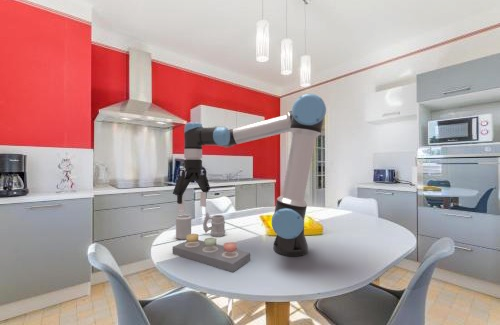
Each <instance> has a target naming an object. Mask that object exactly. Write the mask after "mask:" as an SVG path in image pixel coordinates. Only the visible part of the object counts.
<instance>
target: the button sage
mask: <svg viewBox="0 0 500 325" xmlns="http://www.w3.org/2000/svg"><path fill="white" fill-rule="evenodd" d="M203 241H204V246H206V247H213V246H216V245H218V244H217V237H207V238H204V240H203Z"/></svg>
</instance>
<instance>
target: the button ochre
mask: <svg viewBox="0 0 500 325" xmlns="http://www.w3.org/2000/svg"><path fill="white" fill-rule="evenodd" d="M198 240H199V234H197V233H191V234H189V235H187V239H186V241H187V242H196V241H198Z"/></svg>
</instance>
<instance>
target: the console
mask: <svg viewBox="0 0 500 325" xmlns="http://www.w3.org/2000/svg"><path fill="white" fill-rule="evenodd" d="M172 255H176V256H179V257H183V258H185V259H188V260H192V261H195V262H198V263H202V264H205V265H207V266H212V267H215V268H218V269H222V270H224V271H228V272H230V273H234V272H236V271H237V270H238V269H239V268H241V267H243V266H244V265H246V264H247V263H248V262H250V261H251V252H248V251H246V250H240V249H237V250H236V251H234V252H226V251H224V245H221V244H217V245H216V246H213V247H206V246H204V240H200V239H198V241H196V242H187V240H186V241H184V242H180V243H179V244H176V245H173V246H172Z"/></svg>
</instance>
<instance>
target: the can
mask: <svg viewBox="0 0 500 325" xmlns="http://www.w3.org/2000/svg"><path fill="white" fill-rule="evenodd" d="M189 234H192V216H191V214H190V213H187V212H181V213H178V214H177V216H176V218H175V238H176V239H178V240H182V241H183V240H187V235H189Z"/></svg>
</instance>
